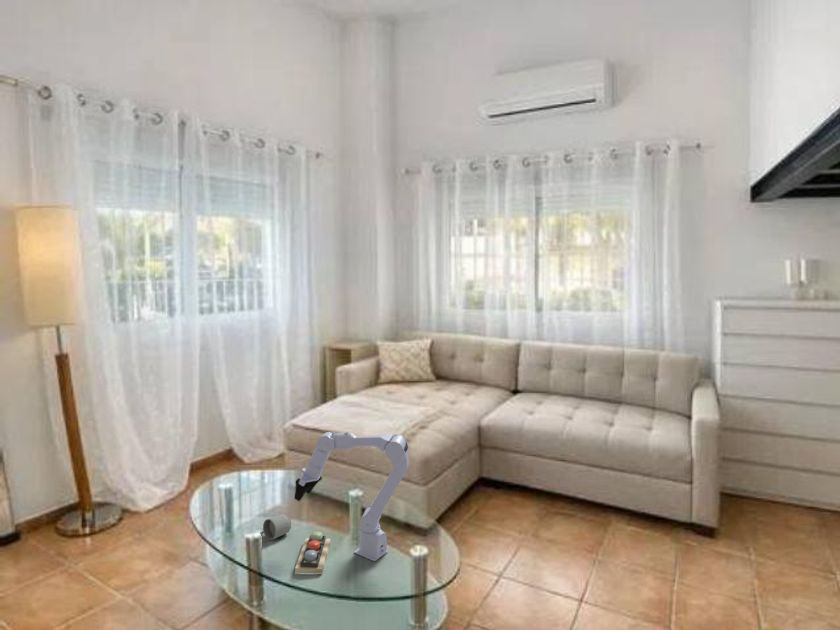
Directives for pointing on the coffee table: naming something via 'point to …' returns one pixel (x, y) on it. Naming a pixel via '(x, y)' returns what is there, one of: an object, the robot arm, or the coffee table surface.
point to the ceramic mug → (276, 526)
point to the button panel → (319, 563)
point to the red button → (314, 545)
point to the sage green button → (316, 536)
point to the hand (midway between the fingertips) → (301, 495)
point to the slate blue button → (310, 555)
